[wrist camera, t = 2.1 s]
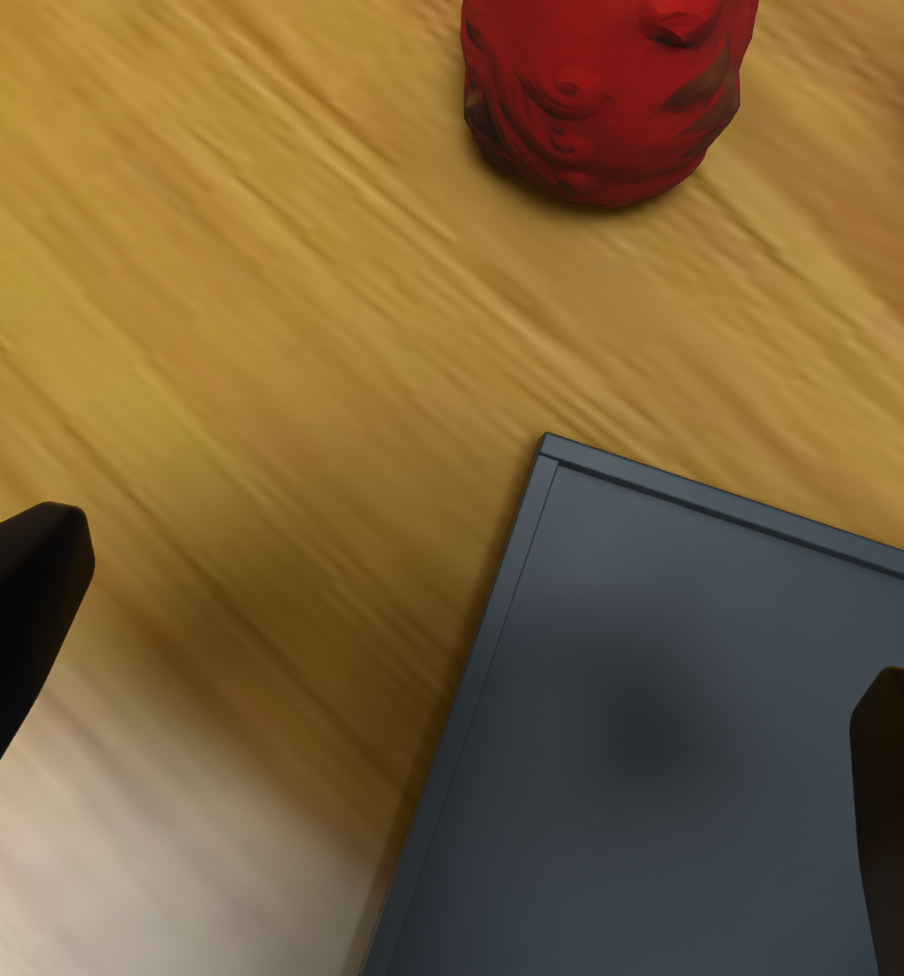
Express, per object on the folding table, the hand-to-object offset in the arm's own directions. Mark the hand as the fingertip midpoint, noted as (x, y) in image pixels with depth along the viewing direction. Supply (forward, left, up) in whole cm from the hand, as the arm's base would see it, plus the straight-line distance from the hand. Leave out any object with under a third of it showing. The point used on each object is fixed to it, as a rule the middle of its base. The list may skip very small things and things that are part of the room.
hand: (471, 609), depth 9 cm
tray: (-7, -8, -15) cm, 18 cm away
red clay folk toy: (+13, +1, -15) cm, 20 cm away
